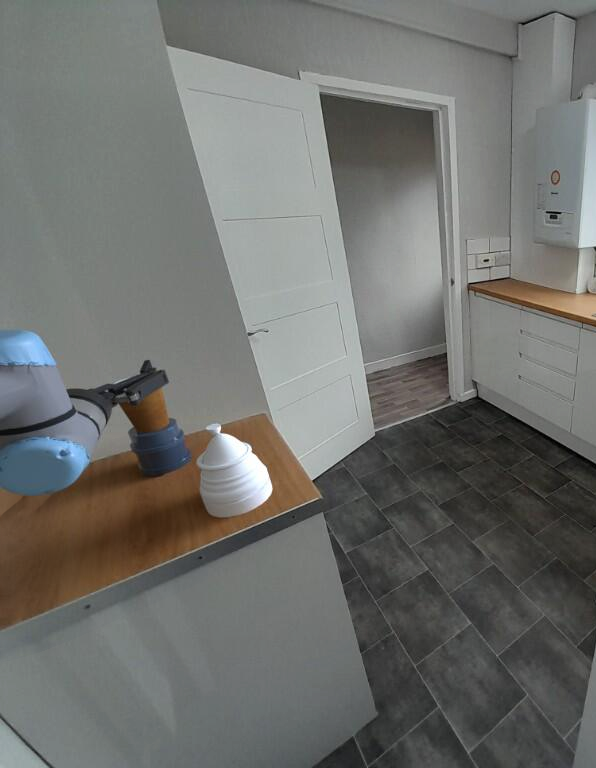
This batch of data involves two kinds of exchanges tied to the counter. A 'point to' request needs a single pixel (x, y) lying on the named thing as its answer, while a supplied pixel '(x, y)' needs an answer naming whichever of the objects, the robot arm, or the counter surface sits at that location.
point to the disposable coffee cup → (147, 412)
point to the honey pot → (231, 476)
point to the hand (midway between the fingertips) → (102, 373)
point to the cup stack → (160, 449)
